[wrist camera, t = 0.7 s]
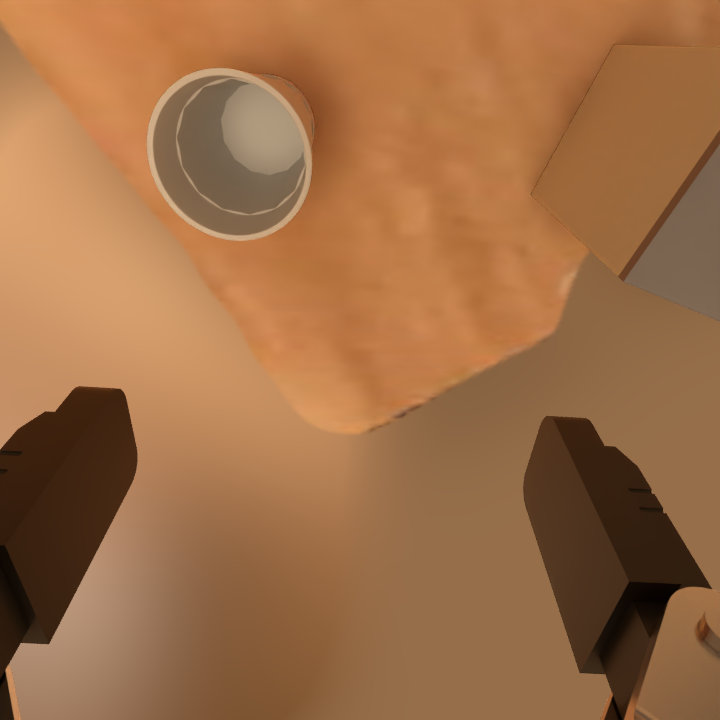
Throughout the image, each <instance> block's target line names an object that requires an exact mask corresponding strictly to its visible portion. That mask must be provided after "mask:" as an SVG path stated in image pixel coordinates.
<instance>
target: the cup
mask: <svg viewBox="0 0 720 720" xmlns="http://www.w3.org/2000/svg"><path fill="white" fill-rule="evenodd" d="M314 135H315V122H314V116H313V113H312V110H311V107H310V105H309V103H308V101H307V99H306V98H305V96H304V95H303V93H302V92H301V91H300V90H299V89H298V88H297V87H296V86H295V85H294V84H292V83H291V82H290V81H288V80H286V79H284V78H282V77H280V76H277V75H272V74H253V73H249V72H244V71H240V70H236V69H230V68H208V69H203V70H199V71H195V72H193V73H190V74H188V75H186V76H184V77H182V78H181V79H179V80H178V81H176V82H175V83H174V84H172V85H171V86H170V87H169V88H168V89H167V90H166V91H165V93H164V94H163V95H162V96H161V98H160V99H159V101H158V102H157V104H156V106H155V108H154V110H153V113H152V115H151V118H150V122H149V126H148V132H147V155H148V161H149V166H150V169H151V173H152V175H153V178H154V181H155V183H156V185H157V187H158V189H159V191H160V193H161V194H162V196H163V197H164V199H165V200H166V202H167V203H168V204H169V205H170V207H171V208H172V209H173V210H174V211H175V212H176V213H177V214H178V215H179V216H180V217H181V218H182V219H183V220H185V221H186V222H187V223H189V224H190V225H192V226H193V227H195V228H196V229H198V230H200V231H202V232H204V233H206V234H208V235H211V236H214V237H217V238H221V239H225V240H233V241H247V240H254V239H259V238H262V237H265V236H268V235H270V234H272V233H274V232H276V231H278V230H279V229H281V228H282V227H284V226H285V225H286V224H287V223H288V222H289V221H290V220H291V219H292V218H293V217H294V216H295V215H296V214H297V212H298V211H299V209H300V208H301V206H302V204H303V203H304V201H305V198H306V196H307V193H308V190H309V187H310V183H311V177H312V144H313V141H314Z"/></svg>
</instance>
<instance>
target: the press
mask: <svg viewBox="0 0 720 720" xmlns="http://www.w3.org/2000/svg"><path fill="white" fill-rule="evenodd" d="M531 195H532V196H533V197H534V198H535V199H536V200H537V201H538V202H539V203H540V204H541V205H542V206H543V207H544V208H545V209H546V210H548V211H549V212H550V213H551V214H552V215H553V216H554V217H555V218H556V219H557V220H558V221H559V222H560V223H561V224H562V225H563V226H565V227H566V228H567V229H568V230H569V231H570V232H571V233H572V234H573V235H574V236H575V237H576V238H577V239H578V240H579V241H581V242H582V243H583V244H584V245H585V246H586V247H587V248H588V249H589V250H590V251H591V252H592V253H593V254H595V255H596V256H597V257H598V258H599V259H600V260H601V261H602V262H603V263H604V264H605V265H606V266H607V267H608V268H610V270H612V271H613V272H614V273H615V274H616V275H617V276H618V277H619V278H620V279H621V280H622V281H623V282H626V283H628V284H630V285H633V286H635V287H638V288H640V289H643V290H645V291H647V292H650V293H652V294H655V295H657V296H660V297H662V298H664V299H667V300H669V301H672V302H674V303H676V304H679V305H681V306H684V307H686V308H688V309H691V310H693V311H696V312H698V313H701V314H703V315H706V316H708V317H710V318H713V319H715V320H718V321H720V47H692V46H649V45H613V47H612V49H611V51H610V53H609V54H608V56H607V58H606V60H605V62H604V63H603V65H602V67H601V69H600V71H599V72H598V74H597V76H596V78H595V80H594V82H593V83H592V85H591V87H590V89H589V91H588V92H587V94H586V96H585V98H584V100H583V101H582V103H581V105H580V107H579V109H578V110H577V112H576V114H575V116H574V118H573V119H572V121H571V123H570V125H569V127H568V128H567V130H566V132H565V134H564V136H563V137H562V139H561V141H560V143H559V145H558V146H557V148H556V150H555V152H554V154H553V155H552V157H551V159H550V161H549V163H548V164H547V166H546V168H545V170H544V172H543V173H542V175H541V177H540V179H539V181H538V183H537V184H536V186H535V188H534V190H533V192H532V193H531Z"/></svg>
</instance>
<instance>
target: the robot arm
mask: <svg viewBox="0 0 720 720" xmlns="http://www.w3.org/2000/svg"><path fill="white" fill-rule="evenodd" d="M136 468H137V447H136V443H135V438H134V433H133V428H132V424H131V419H130V414H129V409H128V405H127V400H126V396H125V394H124V392H123V391H122V390H121V389H115V388H98V387H82V386H79V387H76V388H75V389H74V390H72V392H71V393H70V394H69V395H68V397H67V398H66V399H65V400H64V401H63V403H62V404H61V405H60V406H59V408H58V409H57V410H56V412H44V413H42V414H41V415H39V416H38V417H36V418H34V419H33V420H31V421H30V422H28V423H27V424H25V425H24V426H22V427H21V428H19V429H18V430H17V431H16V432H15V433H14V434H13V436H12V437H11V438H10V439H9V440H8V441H7V442H6V444H5V445H4V446H3V447H2V448H1V449H0V720H21V717H20V712H19V707H18V701H17V696H16V691H15V686H14V681H13V676H12V671H11V668H10V666H9V663H10V661H11V659H12V657H13V656H14V654H15V652H16V650H17V649H18V647H19V645H20V643H34V644H35V643H36V644H49V643H50V641H51V639H52V637H53V635H54V633H55V631H56V629H57V627H58V626H59V624H60V621H61V619H62V617H63V616H64V614H65V612H66V610H67V608H68V606H69V604H70V602H71V600H72V598H73V596H74V594H75V593H76V591H77V589H78V587H79V585H80V582H81V581H82V579H83V577H84V575H85V573H86V571H87V569H88V567H89V565H90V563H91V561H92V559H93V557H94V556H95V554H96V551H97V550H98V548H99V546H100V544H101V542H102V540H103V538H104V536H105V534H106V532H107V530H108V528H109V527H110V525H111V523H112V521H113V519H114V517H115V515H116V513H117V511H118V509H119V507H120V505H121V503H122V501H123V499H124V497H125V496H126V494H127V492H128V490H129V488H130V486H131V484H132V481H133V479H134V476H135V473H136ZM523 490H524V491H523V492H524V501H525V506H526V509H527V512H528V515H529V518H530V521H531V525H532V528H533V531H534V534H535V536H536V540H537V543H538V546H539V549H540V552H541V555H542V558H543V561H544V564H545V568H546V571H547V574H548V577H549V580H550V583H551V586H552V589H553V592H554V595H555V598H556V601H557V604H558V607H559V611H560V614H561V617H562V620H563V623H564V626H565V629H566V632H567V635H568V638H569V641H570V644H571V648H572V651H573V653H574V657H575V660H576V663H577V666H578V669H579V672H580V673H591V674H606V677H607V680H608V683H609V685H610V688H611V691H612V692H611V694H610V695H609V697H608V699H607V701H606V704H605V706H604V709H603V712H602V715H601V717H600V720H720V592H718V591H715V590H713V589H712V588H711V586H710V585H709V583H708V581H707V580H706V578H705V577H704V575H703V573H702V571H701V570H700V568H699V567H698V565H697V563H696V562H695V560H694V558H693V557H692V555H691V553H690V552H689V550H688V549H687V547H686V545H685V544H684V542H683V540H682V539H681V537H680V535H679V534H678V532H677V530H676V529H675V527H674V525H673V524H672V522H671V521H670V519H669V517H668V516H667V514H666V513H663V507H662V506H661V504H660V502H659V501H658V499H657V497H656V496H655V494H652V493H651V488H650V486H649V484H648V483H647V481H646V479H645V478H644V477H643V474H642V473H641V471H640V470H639V468H638V467H637V466H636V465H635V464H634V463H633V462H632V461H631V460H630V459H628V458H627V457H626V456H625V455H624V454H623V453H622V452H621V451H619V450H618V449H617V448H616V447H610V446H604V444H603V442H602V440H601V439H600V437H599V435H598V433H597V432H596V430H595V428H594V426H593V424H592V423H591V421H590V420H588V419H586V418H573V417H556V416H546V417H545V418H544V419H543V421H542V423H541V425H540V428H539V431H538V434H537V438H536V441H535V444H534V447H533V450H532V453H531V457H530V460H529V463H528V466H527V469H526V473H525V477H524V486H523Z"/></svg>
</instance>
